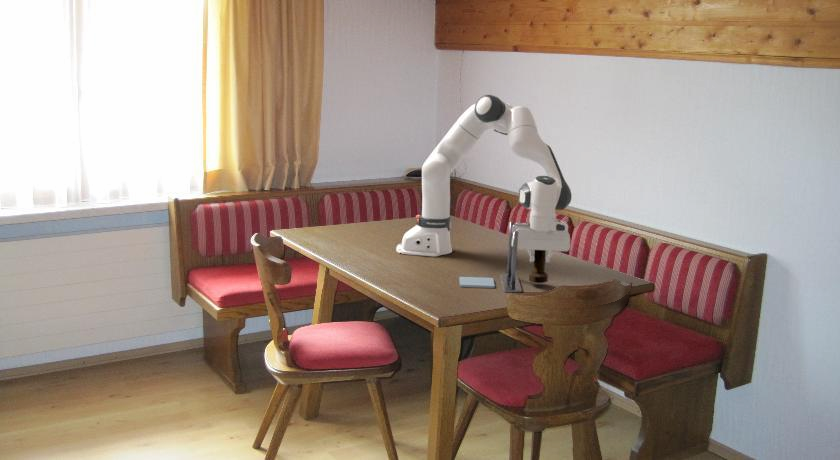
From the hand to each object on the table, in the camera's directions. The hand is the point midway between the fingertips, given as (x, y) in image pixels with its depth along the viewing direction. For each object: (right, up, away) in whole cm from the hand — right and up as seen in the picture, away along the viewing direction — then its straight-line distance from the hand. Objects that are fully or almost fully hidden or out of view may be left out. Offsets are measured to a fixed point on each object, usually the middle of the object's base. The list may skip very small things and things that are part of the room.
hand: (539, 262), depth 301 cm
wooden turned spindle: (0, -7, +2) cm, 7 cm away
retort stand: (-10, -8, +2) cm, 13 cm away
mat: (-22, -8, +2) cm, 23 cm away
